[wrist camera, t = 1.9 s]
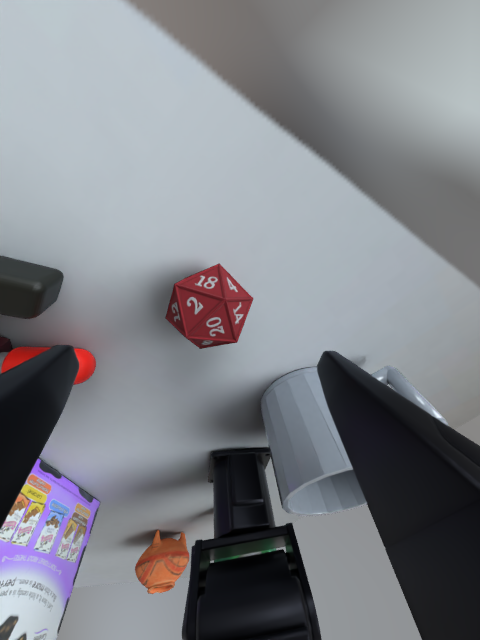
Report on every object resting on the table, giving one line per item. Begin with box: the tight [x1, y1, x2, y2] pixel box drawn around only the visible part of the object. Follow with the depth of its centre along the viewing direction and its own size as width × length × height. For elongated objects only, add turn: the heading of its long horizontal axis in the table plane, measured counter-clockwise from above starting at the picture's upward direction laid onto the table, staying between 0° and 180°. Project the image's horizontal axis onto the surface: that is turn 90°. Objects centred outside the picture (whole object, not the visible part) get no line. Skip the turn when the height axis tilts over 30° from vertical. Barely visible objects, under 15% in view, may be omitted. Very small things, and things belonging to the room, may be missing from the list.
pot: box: [135, 530, 189, 594], centre depth 34 cm, size 8×8×7 cm
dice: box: [165, 264, 253, 349], centre depth 11 cm, size 4×4×4 cm
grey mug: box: [260, 366, 448, 516], centre depth 16 cm, size 11×8×7 cm
